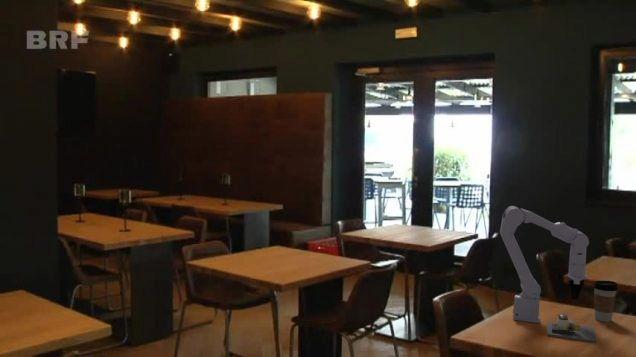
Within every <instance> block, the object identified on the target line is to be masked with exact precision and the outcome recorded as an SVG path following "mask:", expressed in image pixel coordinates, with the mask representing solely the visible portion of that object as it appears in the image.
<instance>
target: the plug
mask: <svg viewBox="0 0 636 357" xmlns="http://www.w3.org/2000/svg"><path fill="white" fill-rule="evenodd" d="M568 318H569V317H568V316H567V317H566V316H558V315H557V318H556V323H557V326H555V329H561V330H568V331H570V328H569V319H570V318H569V319H568Z"/></svg>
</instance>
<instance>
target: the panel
mask: <svg viewBox="0 0 636 357" xmlns="http://www.w3.org/2000/svg"><path fill="white" fill-rule="evenodd" d="M555 326H557V321H549V320H548V321H547V331H546V332H547V333H546V335H547V337H552V338H558V339H564V338H565V340H571V341H572V340H573V341H579V342H585V343H593V344H597V342H598V341H597V336H596V331H595V327H593V326H585V325H581V328H580V331H574V330H572V329H571V328H570V331H568V330H561V329H555Z"/></svg>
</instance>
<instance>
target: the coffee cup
mask: <svg viewBox="0 0 636 357" xmlns="http://www.w3.org/2000/svg"><path fill="white" fill-rule="evenodd" d="M617 283H618V282H616V281H613V280H595V281H594V284H593V288H594V292H593V300H594V304H593V305H594V306H593V307H594V319H595V320H596V321H599V322H603V323H604V322H605V323H609V322H612V319H613V312H614V308H615V302H616V297H617V295H616V294H617V291H618V284H617Z"/></svg>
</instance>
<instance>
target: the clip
mask: <svg viewBox="0 0 636 357" xmlns="http://www.w3.org/2000/svg"><path fill="white" fill-rule="evenodd" d="M558 316H566V317H568V314H564V313H558V314H557V317H558ZM568 319H569V328H571V329H572V330H574V331H580V328H581V326H582V325H581V324H580V323H578V322H576V321H574V320H572V319H571V318H569V317H568Z"/></svg>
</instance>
